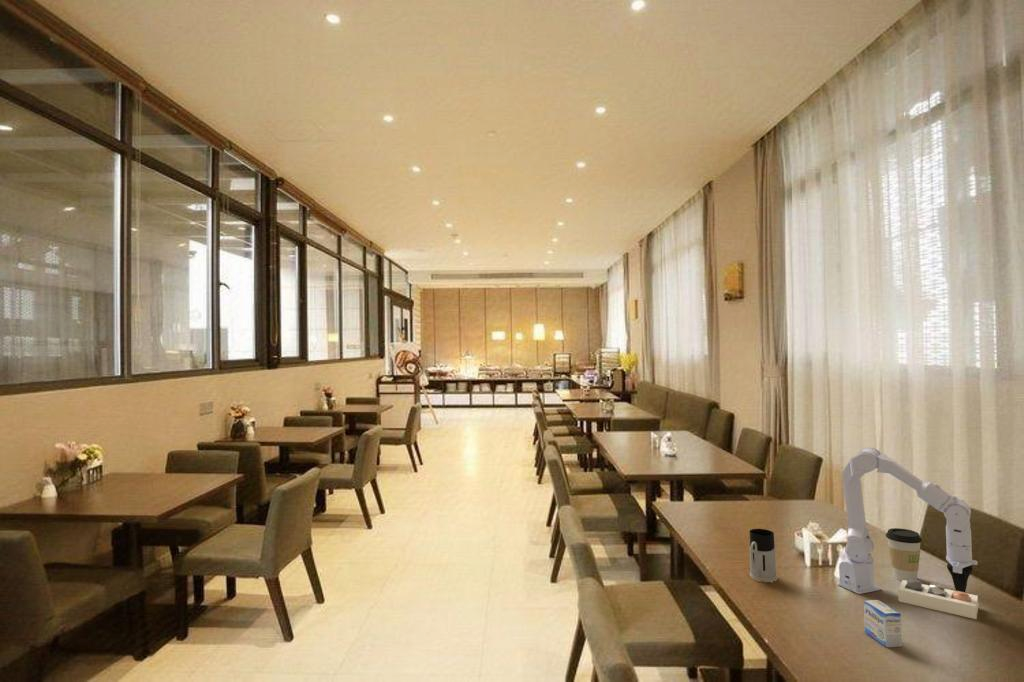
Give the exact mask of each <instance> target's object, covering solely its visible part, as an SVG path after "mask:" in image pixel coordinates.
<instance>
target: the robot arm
mask: <svg viewBox="0 0 1024 682" xmlns="http://www.w3.org/2000/svg"><path fill="white" fill-rule="evenodd" d="M876 469H877V470H876ZM874 470H876V473H878V474H879V473H880V474H881V473H882V474H890V475H891V476H892V477H895V478H896V479H897V480H899V481H901V482H902V483H904V484H906V485H907V486H909V487H910V488H912V489H914V490H915V491H916V494H917V497H918V498H919V499H921V500H922V501H924V502H925V503H926V504H928V505H929V506H931V507H933V508H934V509H935V510H937V511H938V512H940V513H943V516H944V517H945V519H946V524H945V539H946V542H945V543H946V545H945V546H946V556H945V560H946V561H947V565H946V569H947V570H948V573H950V575H951V578H952V581H953V582H952V583H953V585H954V589H955V591H960V592H964V593H966V590H967V585H968V579H969V577H970V575H971V574H972V573H973V566H978V561H977V560H975V559H973V553H972V551H973V550H972V549H973V548H972V547H973V546H972V529H971V522H970V521H971V514H972V510H971V507H970V505H969V504H968V503H967V502H965V500H963V499H960V498H959V497H957V496H956V495H952V494H950V493H949V492H947V491H945V490H944V489H943V488H942V487H941V485H940V484H939V483H933V482H932V481H922V480H921V479H920V478H919V477H917V476H916V475H915V474H913V473H912V472H910V470H908V469H906V468H905V467H904V466H902V465H901V464H899V463H898V462H896V460H894V459H893V458H891V457H890V456H888V455H887V454H885V453H883V452H880V450H878V449H876V448H874V447H865V448H863V449H861V450H860V451H859V452H857V453H855V454H854V455H853V456H851V457H850V459H849V460H848V462H847V464H846V466H845V467H844V469H843V470H842V473H841V474H842V477H841V478H842V484H843V485H842V486H843V494H844V502H845V511H846V517H847V518H846V520H847V526H848V529H847V530H848V531H847V535H846V539H847V543H845V544H846V545H845V547H844V548H845V549H844V550H845V553H846V558H845V560H843V561H841V562H840V563H839V567H838V570H839V572H838V573H839V574H838V575H839V582H837V585H838V586H840V587H842V588H845V589H846V590H849V591H851V592H854V593H855V594H858V595H862V594H867V593H872V592H876V591H881V590H882V587H880V586H878V585H875V567H874V558H873V556H872V555H871V553H872V552H874V548H875V547H874V546H875V544H874V542H873V540H872V538H871V537H870V531H869V530H868V528H867V523H866V520H867V519H866V513H865V505H864V498H863V497H864V495H863V488H862V479H861V478H862V477H863V476H865V475H866V474H868V473H870V472H872V471H874ZM972 565H973V566H972Z"/></svg>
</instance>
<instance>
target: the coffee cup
mask: <svg viewBox="0 0 1024 682" xmlns="http://www.w3.org/2000/svg"><path fill="white" fill-rule="evenodd" d="M885 537H886V539H887V542H888V543H887V544H888V545H887V546H888V547H887V548H888V553H889V557H890V559H889V560H890V564H891V568H892V574H893V578H894V579H896V580H897V581H901V582H902V580H906V581H907V579H917V580H918V573H919V566H920V558H921V557H920V556H921V543H922V542H923V540H922V537H921V535H920V533H919V532H917V531H915V530H911V529H906V528H897V527H896V528H894V527H893V528H889V529H887V532H886V534H885Z"/></svg>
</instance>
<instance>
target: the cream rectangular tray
mask: <svg viewBox="0 0 1024 682" xmlns="http://www.w3.org/2000/svg"><path fill="white" fill-rule="evenodd" d="M954 591H955V590H952V589H948V588H945V597H943V596H938V595H934V594H930V587H929V585H928V584H924V583H922V592H920V591H915V590H911V589H907V581H906V580H902V581H901V583H900V584H899V587H898V589H897V594H898V595H897V596H898V602H899V603H900V602H901V603H905V604H909V605H913V606H918V607H922V608H926V609H931V610H934V611H939V612H942V613H943V612H944V613H948V614H951V615H956V616H961V617H964V618H970V619H973V620H977V618H978V612H979V596H978V595H977V594H976V595H975V594H973V593H972V594H971V593H967V594H968V595H969V602H966V601H961V600H957V599H953V592H954Z"/></svg>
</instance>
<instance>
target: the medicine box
mask: <svg viewBox="0 0 1024 682" xmlns="http://www.w3.org/2000/svg"><path fill="white" fill-rule="evenodd" d="M863 603H864V604H863V607H864V609H863V611H864V613H863V614H864V633H865V634H866V635H867V636H869V637H871V638H872V639H873V640H875V641H876V642H878V644H881V645H882V646H884V647H885V648H888V649H889V648H898V647H899V648H901V647H902V646H903V639H902V636H903V635H902V615H901V612H899V611H897V610H895V609H894V608H892V607H891V606H889V605H887V604H885V603H884V602H882V601H881V600H878V599H872V600H871V599H869V600H864V602H863Z"/></svg>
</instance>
